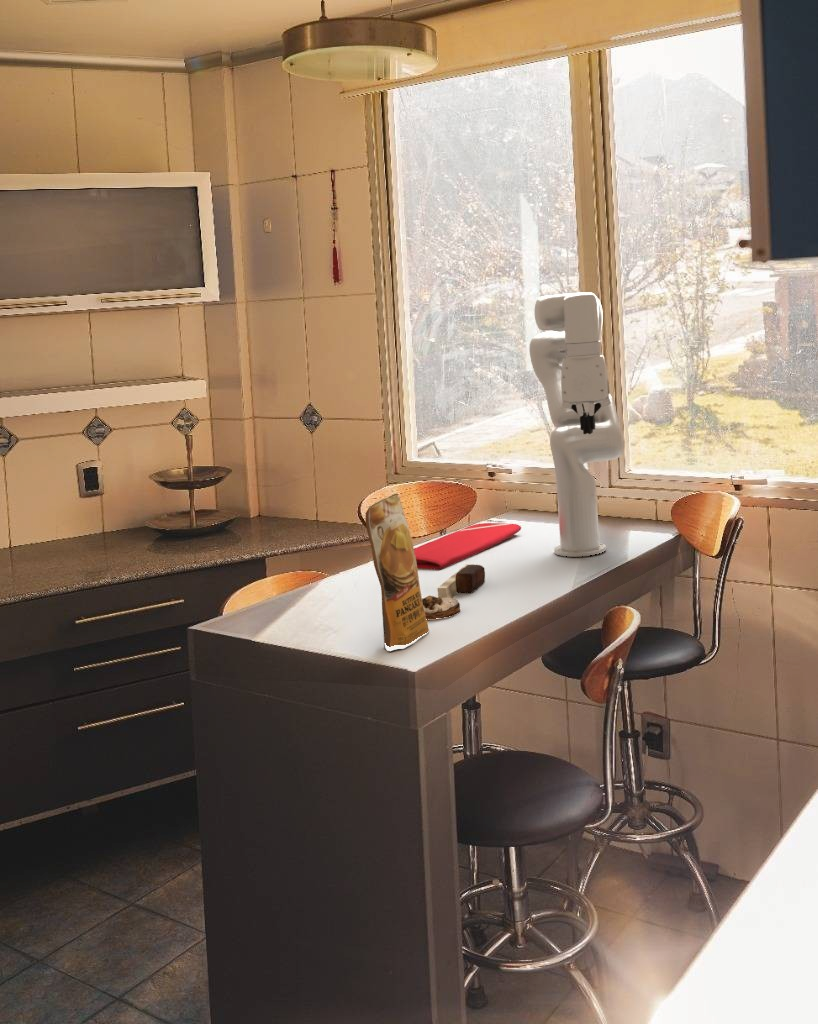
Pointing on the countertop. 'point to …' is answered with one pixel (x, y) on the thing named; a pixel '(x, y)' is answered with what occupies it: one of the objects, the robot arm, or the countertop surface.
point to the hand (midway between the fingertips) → (588, 433)
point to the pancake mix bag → (396, 572)
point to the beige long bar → (449, 586)
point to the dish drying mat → (462, 544)
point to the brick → (470, 578)
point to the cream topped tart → (440, 607)
